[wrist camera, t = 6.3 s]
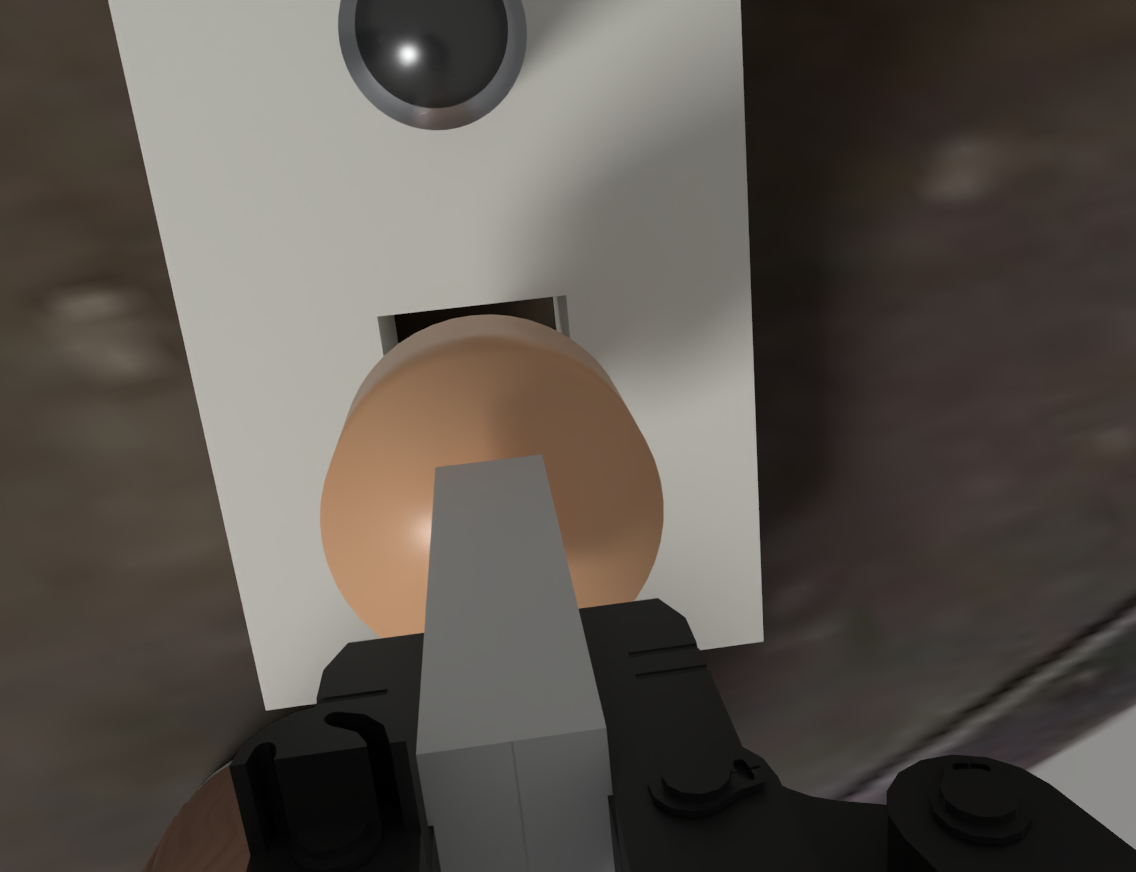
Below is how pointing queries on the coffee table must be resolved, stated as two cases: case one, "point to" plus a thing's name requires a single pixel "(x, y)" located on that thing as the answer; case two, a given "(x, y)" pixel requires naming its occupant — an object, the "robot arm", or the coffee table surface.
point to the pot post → (433, 56)
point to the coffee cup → (205, 832)
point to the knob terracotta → (483, 433)
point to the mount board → (452, 268)
